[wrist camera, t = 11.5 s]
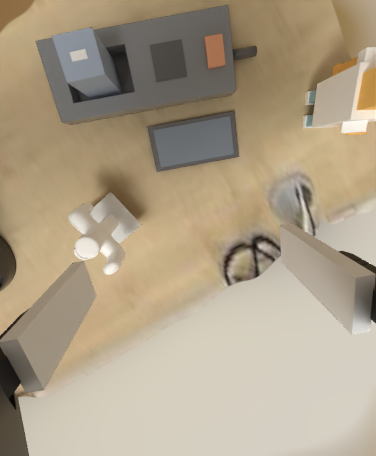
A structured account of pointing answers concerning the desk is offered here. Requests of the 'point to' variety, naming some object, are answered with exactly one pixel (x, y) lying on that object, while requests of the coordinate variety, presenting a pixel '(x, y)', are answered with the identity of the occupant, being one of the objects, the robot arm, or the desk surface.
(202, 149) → the phone
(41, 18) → the desk surface
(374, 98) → the character figure
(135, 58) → the power strip
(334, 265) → the robot arm
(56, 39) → the brick
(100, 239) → the figurine
